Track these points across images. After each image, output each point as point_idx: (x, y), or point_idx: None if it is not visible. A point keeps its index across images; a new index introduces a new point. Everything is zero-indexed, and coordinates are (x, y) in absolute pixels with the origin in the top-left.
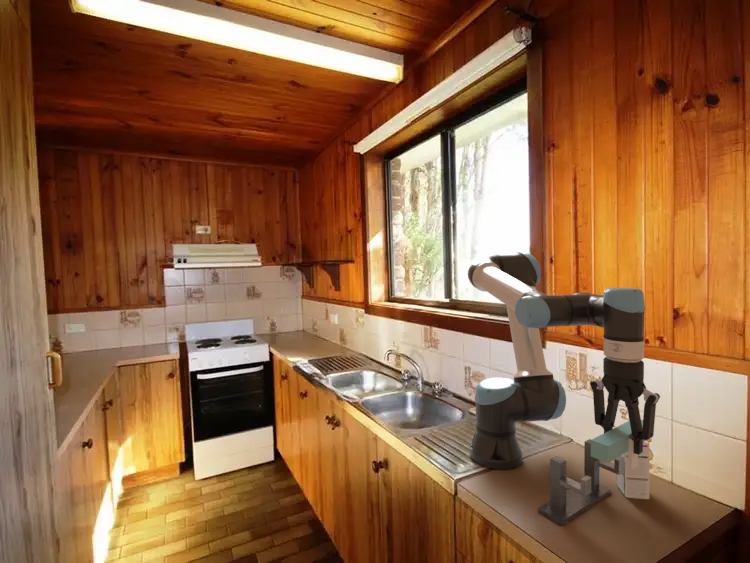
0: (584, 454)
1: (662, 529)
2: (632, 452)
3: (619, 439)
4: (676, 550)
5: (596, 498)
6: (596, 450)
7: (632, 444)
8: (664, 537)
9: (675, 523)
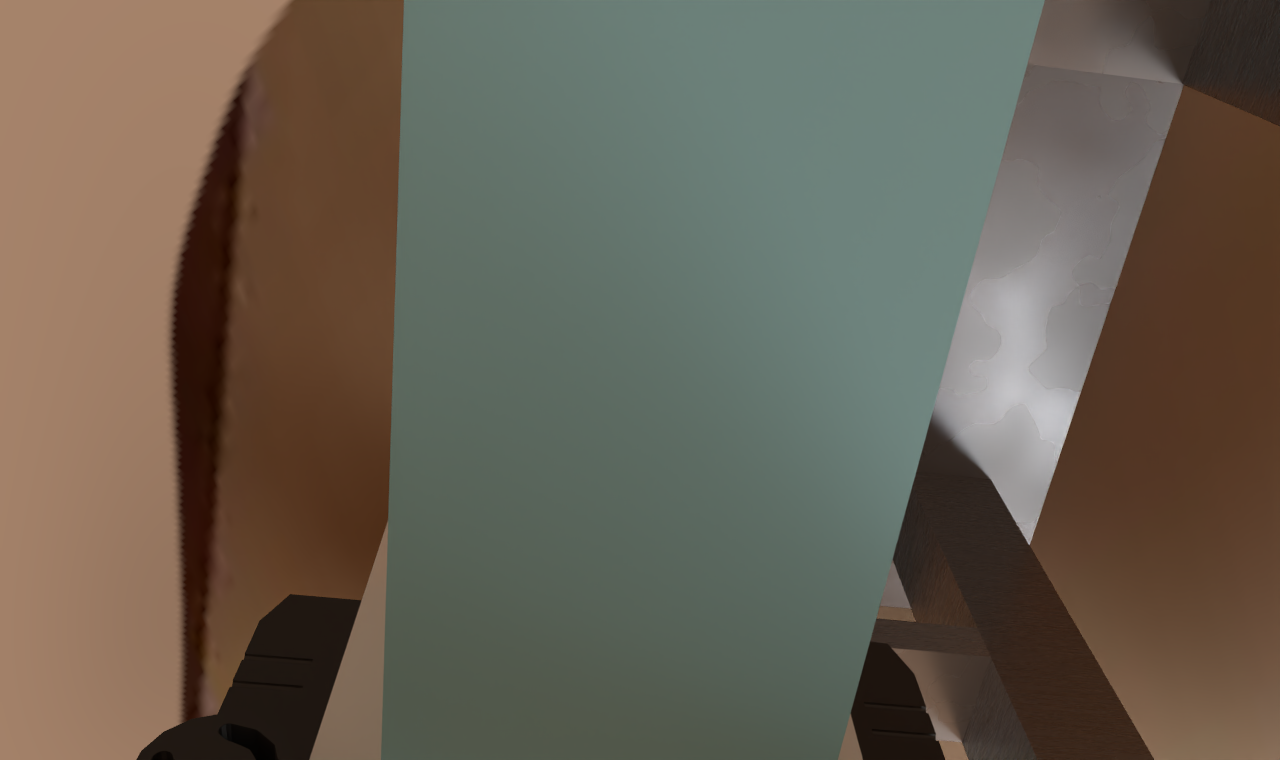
0: (1111, 686)
1: (383, 388)
2: (370, 577)
3: (412, 443)
4: (223, 205)
5: None
6: None
7: (333, 686)
8: (337, 300)
9: (352, 521)
